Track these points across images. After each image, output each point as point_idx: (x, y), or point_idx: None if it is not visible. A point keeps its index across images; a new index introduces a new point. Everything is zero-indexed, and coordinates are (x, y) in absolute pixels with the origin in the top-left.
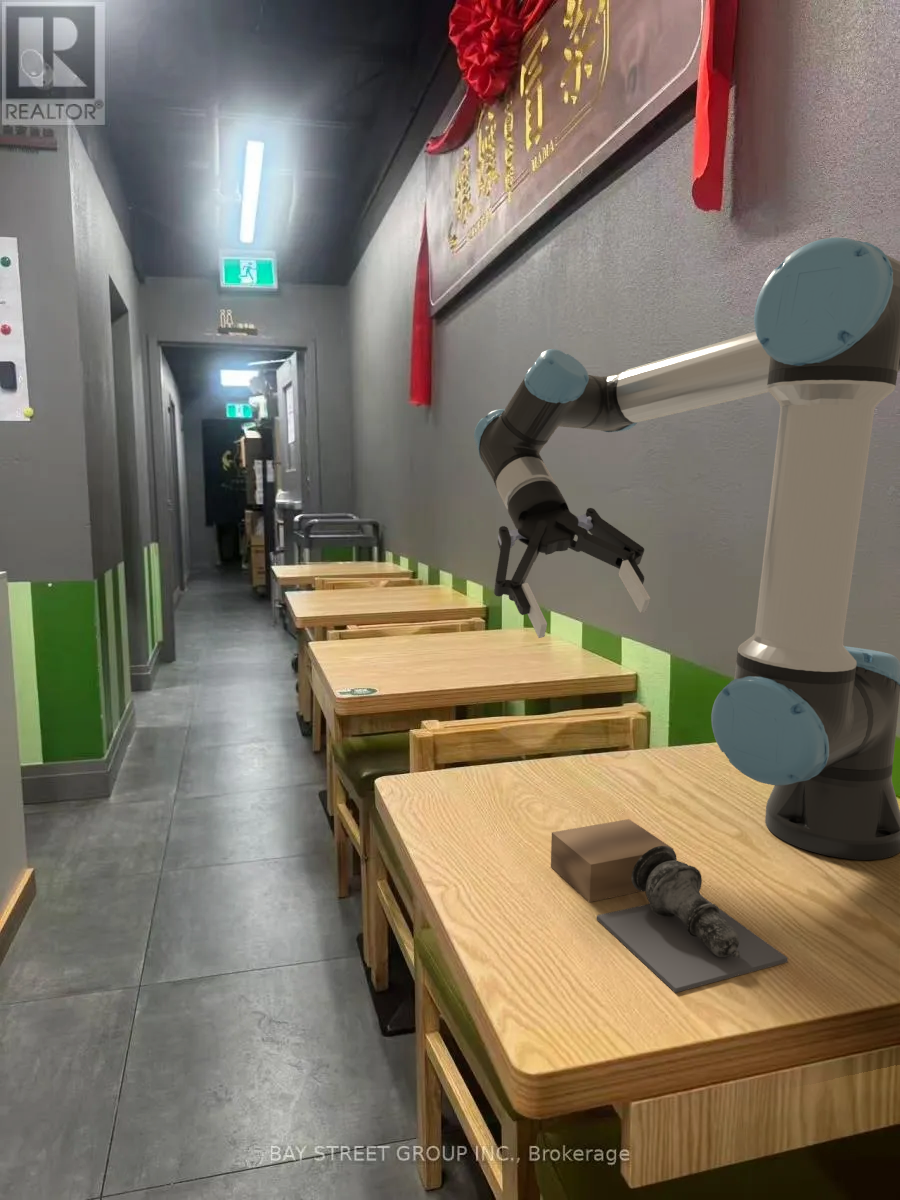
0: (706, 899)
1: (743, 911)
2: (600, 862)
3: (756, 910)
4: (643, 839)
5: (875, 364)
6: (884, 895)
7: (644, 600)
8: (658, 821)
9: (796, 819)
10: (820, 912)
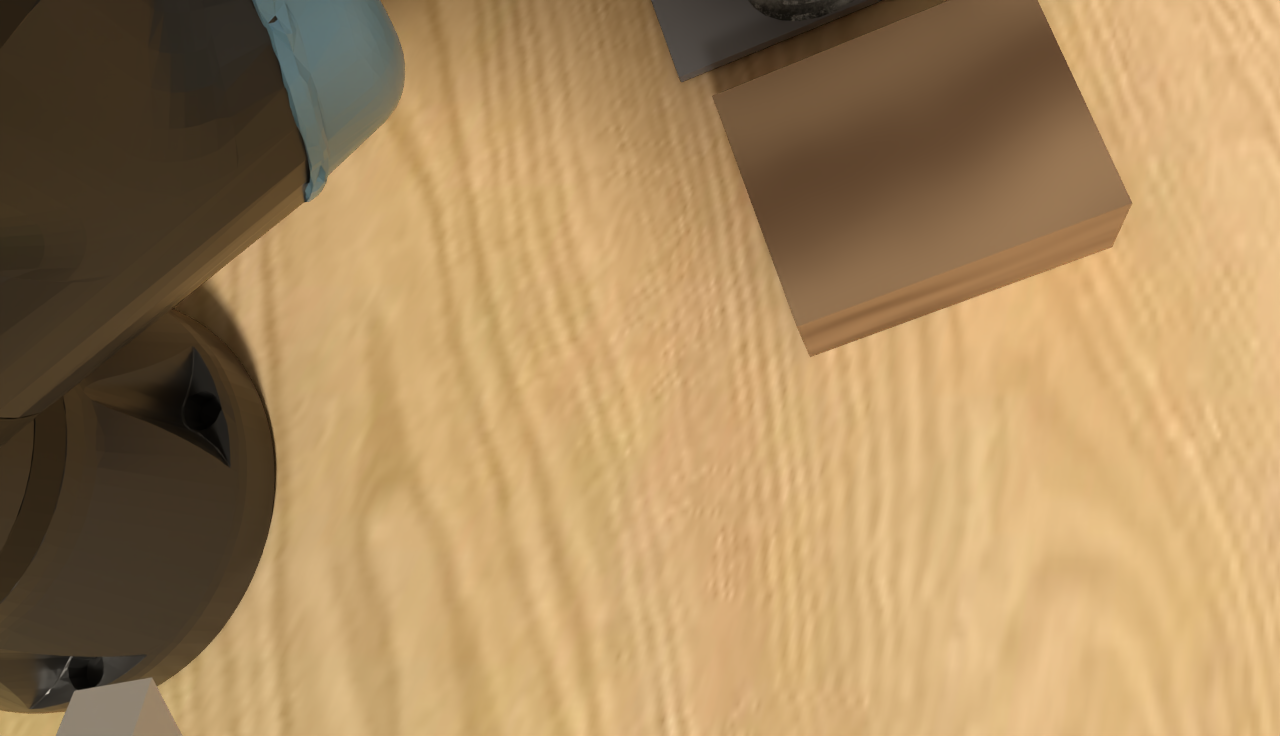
0: (667, 45)
1: (587, 18)
2: None
3: (551, 25)
4: (792, 159)
5: None
6: None
7: (157, 702)
8: (619, 615)
9: (190, 427)
10: (396, 27)
